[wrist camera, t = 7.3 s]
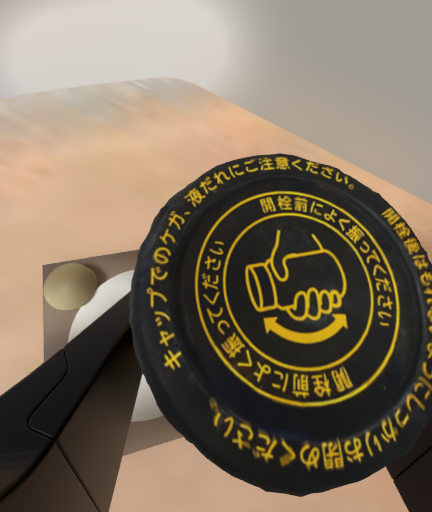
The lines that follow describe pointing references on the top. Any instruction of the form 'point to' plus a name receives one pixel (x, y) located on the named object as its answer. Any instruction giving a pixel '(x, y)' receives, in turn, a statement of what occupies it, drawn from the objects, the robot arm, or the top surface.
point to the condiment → (286, 323)
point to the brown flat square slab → (87, 311)
